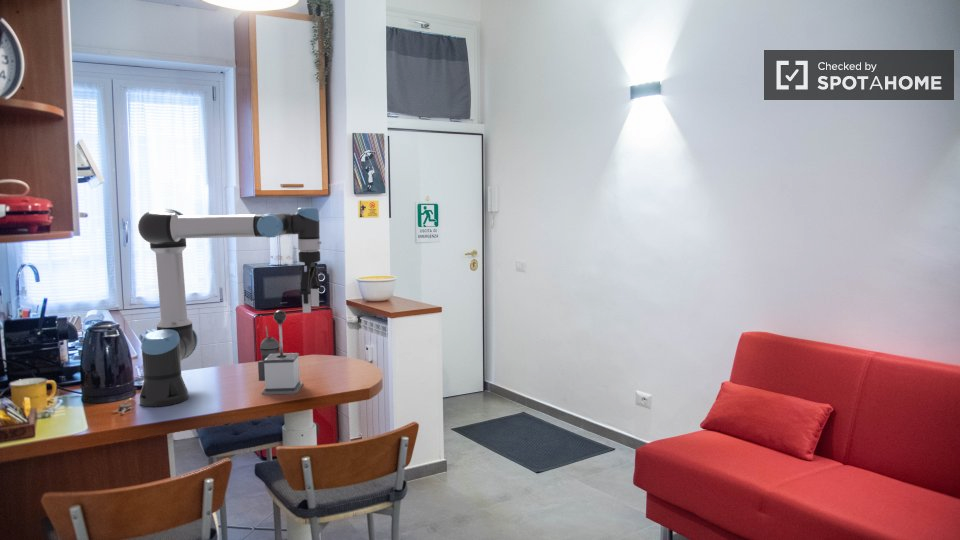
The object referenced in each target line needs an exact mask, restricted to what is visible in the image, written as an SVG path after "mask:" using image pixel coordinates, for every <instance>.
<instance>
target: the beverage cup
mask: <svg viewBox="0 0 960 540" xmlns="http://www.w3.org/2000/svg"><path fill="white" fill-rule="evenodd" d="M264 329H265V334H266V337H265V338H264V339H263V340H262V341H261V343H260V347H259V350H260V355H261V359H262V360H261V361H264V360H265V359H266V358H267V357H268V356H269V355H270V354H276V353H280V342H279V341H278V340H277V339H276V338H274V337H271V336H269V332H268V328H267V325H265V328H264Z"/></svg>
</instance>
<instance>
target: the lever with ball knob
mask: <svg viewBox="0 0 960 540" xmlns="http://www.w3.org/2000/svg"><path fill="white" fill-rule="evenodd" d="M286 319H287V313H286V312H285V311H284V310H279V309H278V310H276V311H275V312H274V313H273V321H275V322H276V324H278V337H279V338H278V339H279V341H278V342H279V347H280V348H279V353H280V358H283V353H284V345H283V326H282V325H283V324H284V322H285V321H286Z"/></svg>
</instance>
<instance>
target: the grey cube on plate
mask: <svg viewBox="0 0 960 540" xmlns="http://www.w3.org/2000/svg"><path fill="white" fill-rule="evenodd" d="M299 357H300V353H299V352H288V353H287V352H283V358H280V352H279V353H276V354H270V355H269V356H268V357H267V358H266V359H265V360H264V361H262V360H259V361H257V366H258V367H257V369H258V372H257V373H258V381H259V382H263V381H264V382H265V383H264V389H263V391H262V392H261V395H262V396H263V395H291V394H293V395H294V394H295V395H297V394H298V393H299V391H300V389H301V388H302V387H303V385H304V381H301V380H300V379H301V378H300V358H299Z"/></svg>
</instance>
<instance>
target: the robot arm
mask: <svg viewBox="0 0 960 540" xmlns="http://www.w3.org/2000/svg"><path fill="white" fill-rule="evenodd" d="M137 225H138V226H137V228H138V233H139V235H140V237H141V238H142V239H143V240H145V241H146V242H148V243H149V245H150V247H149V248H150V250H151V251H153V252H154V253H155V261H156V274H157V286H158V287H157V288H158V299H159V310H160V311H159V312H160V321H159V322H158V323H157V324H156V330H154V331H150V332H148V333H146V334H144V335H143V336H142V338H141V346H140V349H141V358H142V370H143V383H142V386H141V390H140V393H139V398H138V399H139V405H141V406H144V407H148V408H149V407H151V408H152V407H154V408H155V407H165V406H170V405H171V406H172V405H175V404H176V405H177V404H180V403H182V402H184V401H187V400H188V399H189V391H188V387H187V386H186V383H185V381H184V378H183V376H182V366H181V365H182V361H183V360H184V359H187V358H189V357H190V356H191V355H192V354H193V353H194V351H195V350H196V348H197V345H198V341H199V339H198V335H197V332H196V331H195V330H194V329H193V321H192V320H190V319H189V318H188V312H187V309H188V308H187V299H186V287H185V283H186V282H185V272H184V259H183V251H184V250H185V249H186V248H187V239H216V238H217V239H218V238H219V239H221V238H224V239H225V238H269V239H270V238H276V237H277V236H281V235H283V236H284V235H297V249H298V251H299V252H298V261H299V262H300V263H304V265H301V279H300V280H301V283H300V291H299V295H302V297H301V300H302V302H301V303H302V313H303V314H304V313H305V314H310V313H312V307H320V293H319V292H320V291H319V289H321V288H322V287H321V284H320V283H321V282H320V277H319V272H318V271H319V270H318V263H319V262H320V261H321V252H320V249H321V247H320V246H321V245H322V241H320V239H321V237H320V215H319V209H318V208H316V207H298V208H297V210H296V212H295V213H294V212H293V213H281V212H280V213H278V212H277V213H276V212H271V213H265V214H225V215H224V214H220V215H219V214H218V215H217V214H216V215H213V214H212V215H210V214H209V215H184V214H183V213H182V212H180V211H178V210H176V209H170V208H169V209H168V208H165V209H153V210H149V211H147V212H146V213H144V214H143V215H142V216H141V217H140V218H139V221H138V223H137Z"/></svg>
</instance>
